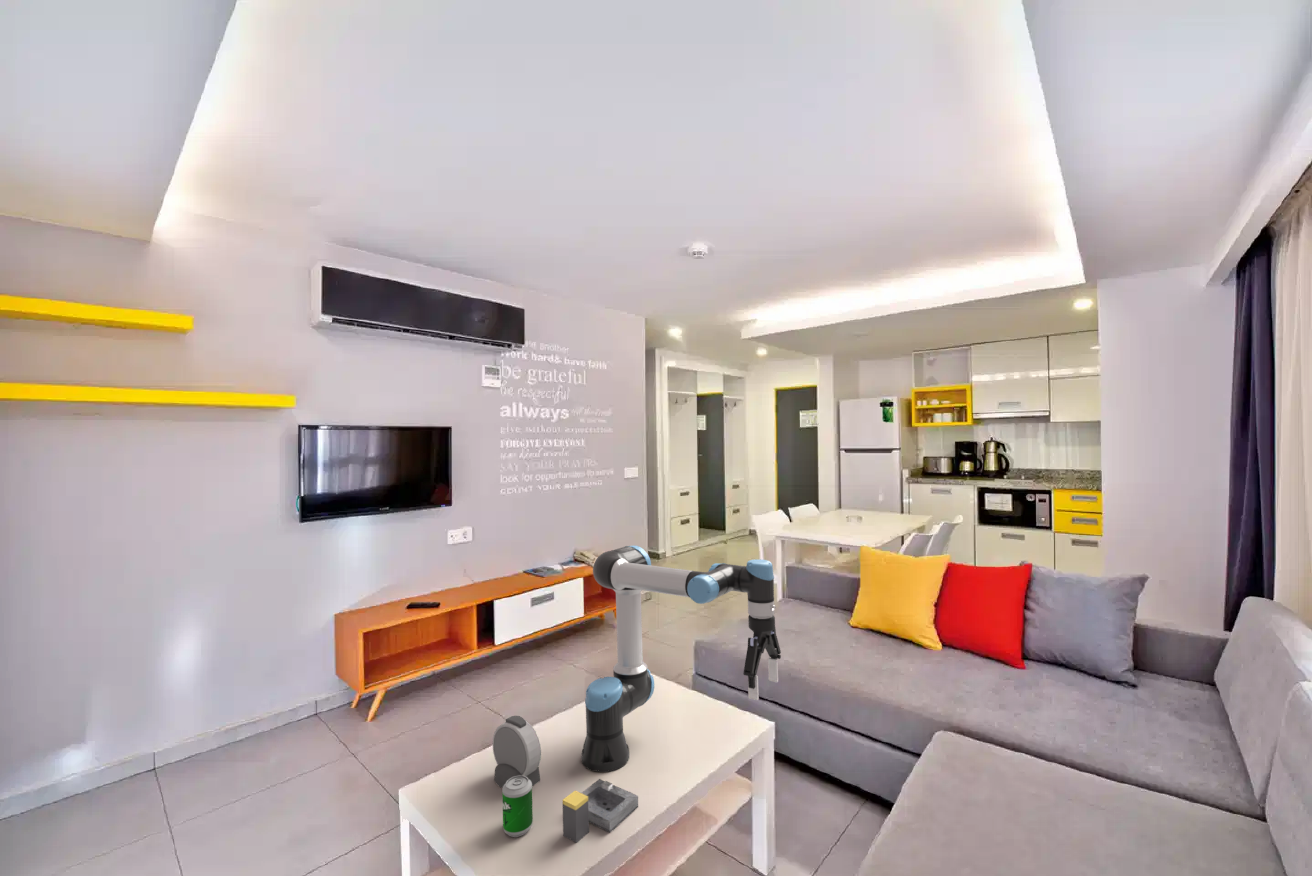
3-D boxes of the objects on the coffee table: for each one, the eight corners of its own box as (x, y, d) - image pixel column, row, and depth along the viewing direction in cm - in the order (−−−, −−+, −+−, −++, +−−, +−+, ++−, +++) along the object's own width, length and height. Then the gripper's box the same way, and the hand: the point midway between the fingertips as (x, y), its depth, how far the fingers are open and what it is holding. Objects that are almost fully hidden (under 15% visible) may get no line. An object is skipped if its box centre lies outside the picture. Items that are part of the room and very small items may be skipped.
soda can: (535, 818, 144) (534, 773, 144) (529, 838, 137) (528, 790, 137) (507, 820, 144) (506, 774, 144) (499, 840, 136) (498, 792, 137)
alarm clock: (548, 779, 161) (547, 718, 162) (522, 798, 153) (521, 733, 153) (512, 763, 170) (511, 704, 171) (485, 780, 162) (484, 718, 162)
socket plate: (570, 812, 146) (569, 799, 146) (599, 789, 156) (599, 776, 156) (609, 832, 138) (609, 818, 138) (638, 807, 148) (637, 793, 148)
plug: (563, 836, 137) (562, 800, 137) (575, 825, 141) (575, 790, 141) (576, 843, 135) (575, 806, 135) (589, 832, 138) (588, 796, 139)
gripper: (754, 629, 143) (757, 710, 142) (790, 606, 163) (792, 677, 163) (729, 624, 147) (731, 703, 147) (767, 602, 167) (769, 671, 167)
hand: (763, 689), depth 155 cm, fingers open, 13 cm apart
